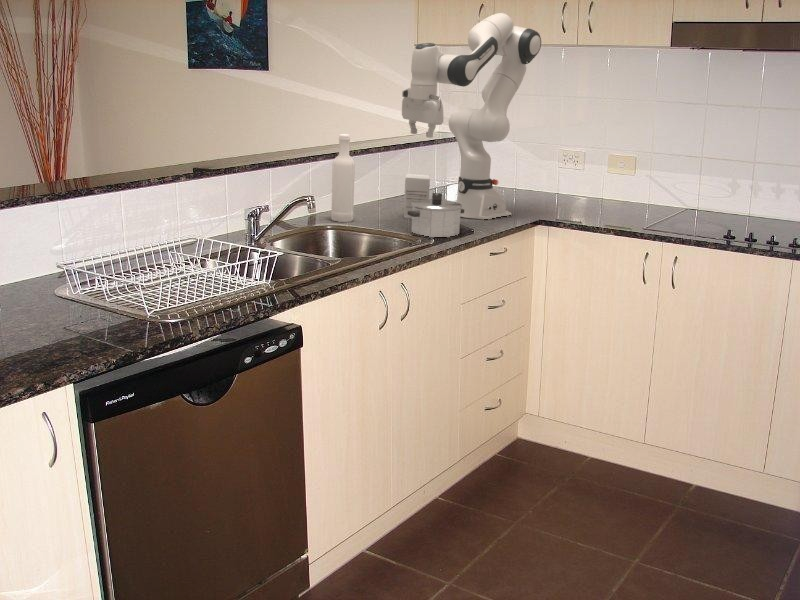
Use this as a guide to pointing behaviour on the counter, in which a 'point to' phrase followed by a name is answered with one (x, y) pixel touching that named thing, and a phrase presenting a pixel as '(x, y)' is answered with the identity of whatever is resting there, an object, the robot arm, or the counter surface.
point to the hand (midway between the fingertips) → (421, 135)
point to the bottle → (343, 183)
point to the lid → (436, 204)
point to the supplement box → (415, 190)
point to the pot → (435, 222)
